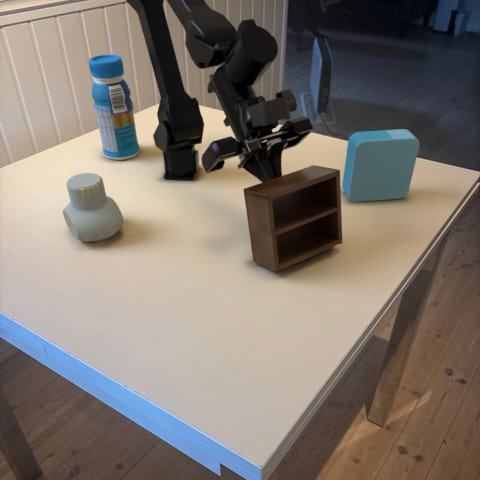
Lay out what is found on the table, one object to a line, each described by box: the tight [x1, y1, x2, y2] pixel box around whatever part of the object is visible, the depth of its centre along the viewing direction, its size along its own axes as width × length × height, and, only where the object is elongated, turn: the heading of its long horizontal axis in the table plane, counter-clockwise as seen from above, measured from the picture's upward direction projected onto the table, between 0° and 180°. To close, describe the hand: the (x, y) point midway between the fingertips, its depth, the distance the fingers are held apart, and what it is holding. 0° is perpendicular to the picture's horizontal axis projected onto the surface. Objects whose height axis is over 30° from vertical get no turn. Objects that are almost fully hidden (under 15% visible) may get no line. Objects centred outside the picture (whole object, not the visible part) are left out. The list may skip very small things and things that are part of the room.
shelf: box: [242, 164, 343, 273], centre depth 77 cm, size 6×14×12 cm, turn 125°
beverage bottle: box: [88, 54, 140, 161], centre depth 106 cm, size 8×8×20 cm
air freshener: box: [62, 172, 125, 242], centre depth 84 cm, size 11×8×10 cm
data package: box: [341, 128, 420, 203], centre depth 92 cm, size 12×4×12 cm, turn 97°
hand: (280, 193), depth 78 cm, fingers closed, pressing on shelf
